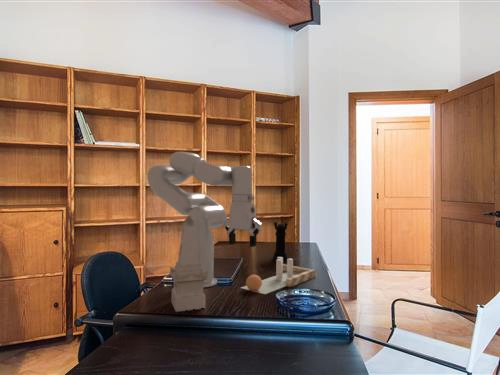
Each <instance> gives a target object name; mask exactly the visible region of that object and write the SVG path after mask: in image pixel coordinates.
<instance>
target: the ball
mask: <svg viewBox="0 0 500 375" xmlns="http://www.w3.org/2000/svg"><path fill="white" fill-rule="evenodd" d="M262 280H263V279H262V278H261V277H260V275H257V274H251V275H249V276H248V277H247V278H246V282H245V283H246V284H245V286H247V287H248V289H250V290H251V291H250V292H253V291H257V290H259V289H260V287H261V285H262Z"/></svg>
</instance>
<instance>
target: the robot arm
mask: <svg viewBox="0 0 500 375" xmlns="http://www.w3.org/2000/svg"><path fill="white" fill-rule="evenodd" d="M168 162H169V164H157V165H154V166H151V167H150V168H149V169H148V171H147V175H146V176H147V177H146V178H147V183H148V186H149V188H150V190H151V191H152V192H153V193H154V194H155V195H156V196H157V197H158V198H160V199H161V200H163V201H164V202H166V203H167V204H168V205H169V206H170V207H171V208H173V209H174V210H175V211H176V212H178V213H179V214H181V215H182V216H187V217H188V216H190V217H191V218H192V220H193V221H194V222H195V230H196V238H197V247H198V255H199V263H200V265H201V269H202V270H204V271H205V272H206V271H207V279H206V280H204V284H203V289H205V288H209V287H213V286H216V285H217V284H218V280H217V278H215V277H214V262H215V260H214V258H215V257H214V256H215V255H214V252H215V251H214V248H215V245H214V244H215V240H214V236H213V232H212V231H211V229H212V228H219V227H221V226H223V225H224V228H225V230H226V231H227V232H226V233H227V234H228V245H230V246H231V245H234V244H236V239H237V238H236V231H237V230H240V231H248V233H249V234H250V235H249V247H250V248H253V247H256V246H257V236H258V234H259V233H260V232H261V229H262V226H263V223H262V222H260V220H257V211H256V206H255V202H253V200H255V196H253V169H252V166H249V165H235V166H227V165H226V166H225V165H215V164H210V163H207V161H206V159H205V158H203V157H202V156H199V154H197V153H195V152H187V151H175V152H173V153H172V154H171V155H170V157H169V160H168ZM191 177H193V178H195V180H197V181H198V182H200V183H204V184H207V185H209V186H210V185H211V186H212V187H213V186H214V187H215V186H216V187H218V186H219V187H221V186H223V187H231V202H230V207H229V213H228V214H229V215H228V216H227V211H226V210H225V208H224V207H223V205H221V204H220V203H218V201H216V200H214V199H213V198H211V197H210V196H209V195H207V194H205V193H201V192H187V191H185V190H184V189H182V188H181V187H179V185H180V184H183V183H184V182H185V181H187V180H188V179H189V178H191ZM227 218H228V219H227Z"/></svg>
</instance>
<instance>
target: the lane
mask: <svg viewBox="0 0 500 375" xmlns="http://www.w3.org/2000/svg"><path fill="white" fill-rule="evenodd" d="M295 275H298V274H295V273H293V276H295ZM286 279H287V272H283V278H282V281H281V282H277V281H276V275H274V276H270V277H267V278H265V279H261V280H262V285H261V287H260V289H259V290H257V291H251V290H250V289H248V287H247V285H244V286H241V287H240V289H243V290H246V291H250V292H254V293H258V294H262V295H267V294H270V293H273V292H274V291H277V290H280V289H282V288H283V289H284V288H285V287H287V286H286Z"/></svg>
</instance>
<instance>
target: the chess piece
mask: <svg viewBox="0 0 500 375" xmlns="http://www.w3.org/2000/svg"><path fill="white" fill-rule="evenodd" d="M273 226H274V230H275V250H274V253H273V255H272V262H276V260H277V257H283V262H287V259H289V258H288V253H287V251H286V235H287V232H286V230H287V229H288V228H287V227H288V222H287V221H284V223H282V224H281V223H278V221H274V222H273Z"/></svg>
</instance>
